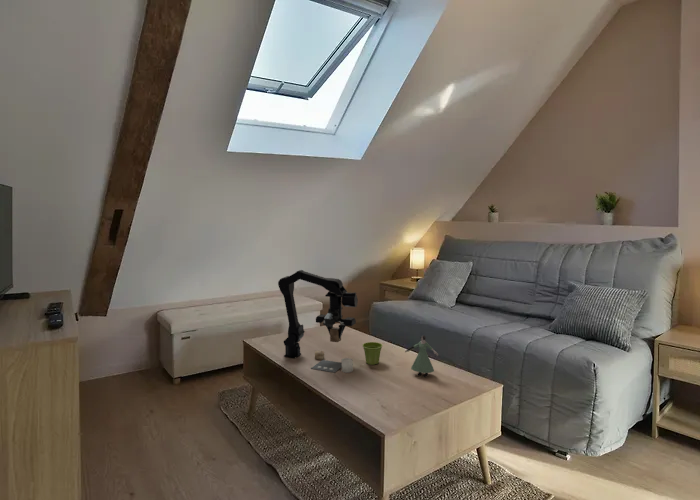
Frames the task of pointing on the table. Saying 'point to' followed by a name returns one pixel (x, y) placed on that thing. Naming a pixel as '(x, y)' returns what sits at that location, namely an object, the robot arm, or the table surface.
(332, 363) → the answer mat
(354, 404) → the table surface
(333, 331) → the walnut block
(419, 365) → the character figurine
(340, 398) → the table surface
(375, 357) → the plant pot
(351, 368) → the white rounded block
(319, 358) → the beige round knob
